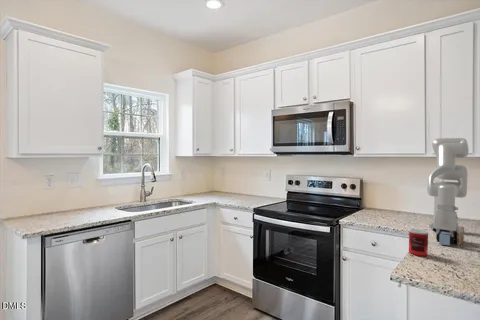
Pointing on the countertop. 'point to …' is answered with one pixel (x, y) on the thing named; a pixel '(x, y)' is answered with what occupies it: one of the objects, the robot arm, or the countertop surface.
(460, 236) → the cubby
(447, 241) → the bar
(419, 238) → the canned food
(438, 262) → the countertop surface
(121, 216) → the countertop surface
